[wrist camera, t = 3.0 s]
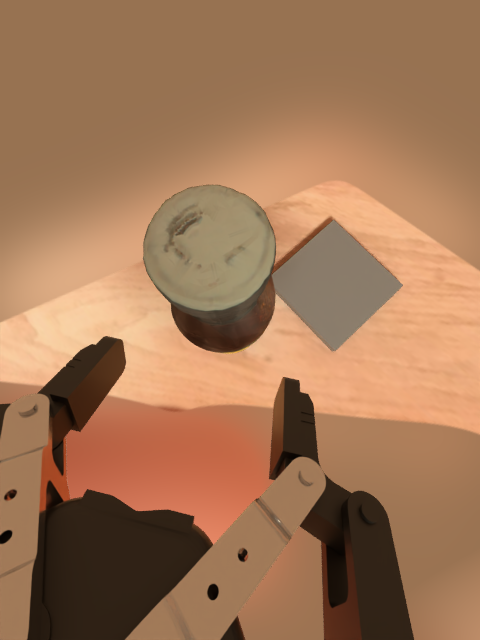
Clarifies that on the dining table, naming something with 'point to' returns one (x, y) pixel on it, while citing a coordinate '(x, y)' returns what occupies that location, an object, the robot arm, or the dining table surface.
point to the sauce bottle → (213, 266)
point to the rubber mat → (334, 285)
